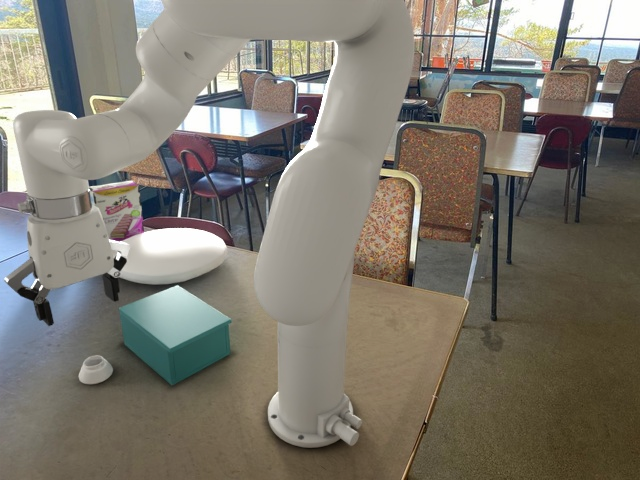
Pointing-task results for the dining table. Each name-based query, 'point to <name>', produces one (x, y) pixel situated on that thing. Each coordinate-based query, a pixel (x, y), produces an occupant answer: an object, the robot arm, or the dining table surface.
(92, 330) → the dining table surface
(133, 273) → the plate
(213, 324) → the lunchbox lid
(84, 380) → the white jar
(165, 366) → the box
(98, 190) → the candy bar box
